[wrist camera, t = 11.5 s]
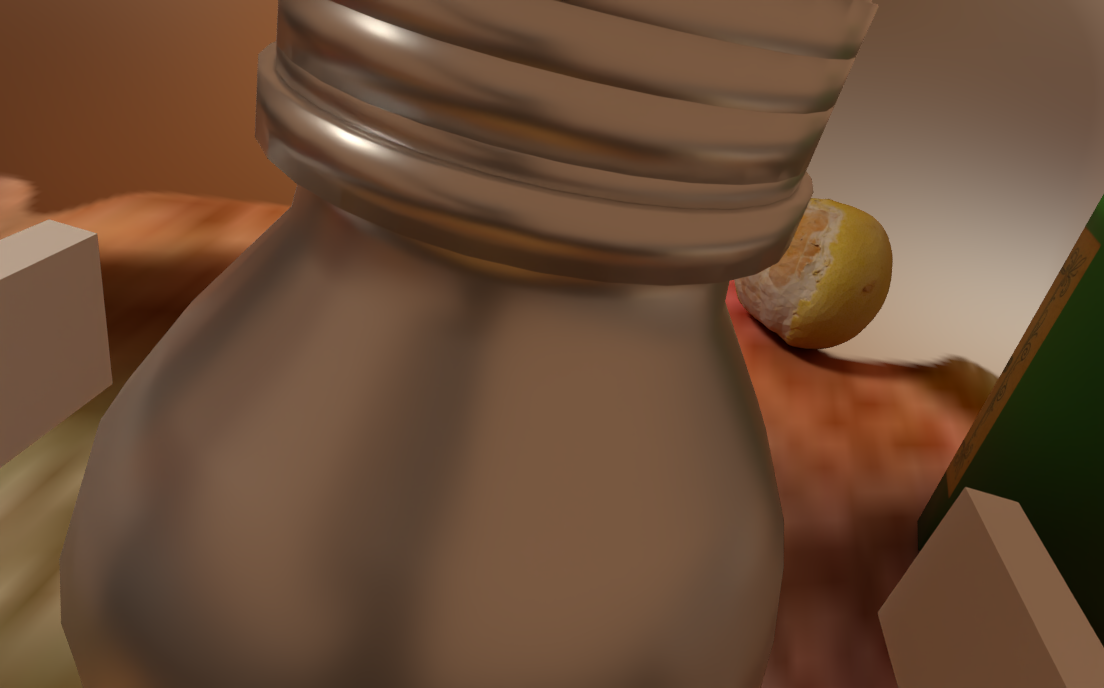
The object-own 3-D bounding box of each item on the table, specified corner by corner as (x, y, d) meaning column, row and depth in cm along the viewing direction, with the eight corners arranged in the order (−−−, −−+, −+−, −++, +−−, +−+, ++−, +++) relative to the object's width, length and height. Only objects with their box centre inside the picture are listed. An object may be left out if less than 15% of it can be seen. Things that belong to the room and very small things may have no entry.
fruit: (785, 295, 58) (838, 177, 53) (883, 373, 50) (956, 242, 45) (682, 295, 53) (729, 166, 48) (771, 381, 45) (838, 236, 40)
